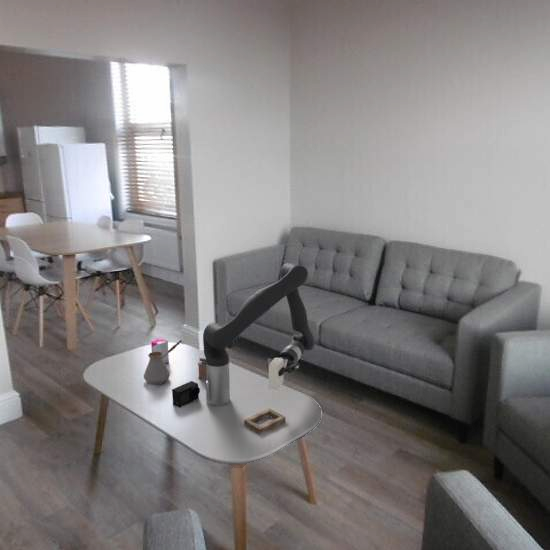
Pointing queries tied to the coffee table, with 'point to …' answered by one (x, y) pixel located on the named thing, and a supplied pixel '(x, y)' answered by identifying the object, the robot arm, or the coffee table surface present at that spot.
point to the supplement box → (161, 348)
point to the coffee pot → (157, 367)
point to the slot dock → (261, 429)
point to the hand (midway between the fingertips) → (274, 373)
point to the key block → (275, 373)
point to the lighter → (202, 369)
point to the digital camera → (185, 394)
